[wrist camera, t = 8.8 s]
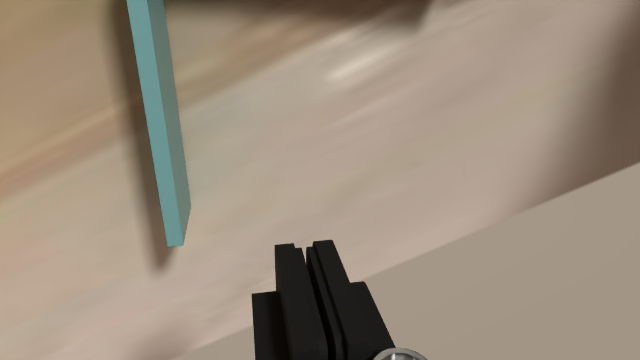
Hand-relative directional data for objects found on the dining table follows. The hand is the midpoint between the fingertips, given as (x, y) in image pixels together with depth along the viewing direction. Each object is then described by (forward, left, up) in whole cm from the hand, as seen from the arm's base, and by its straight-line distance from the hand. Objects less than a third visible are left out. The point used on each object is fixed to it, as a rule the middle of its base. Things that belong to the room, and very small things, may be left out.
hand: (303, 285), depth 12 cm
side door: (+7, -2, -21) cm, 22 cm away
